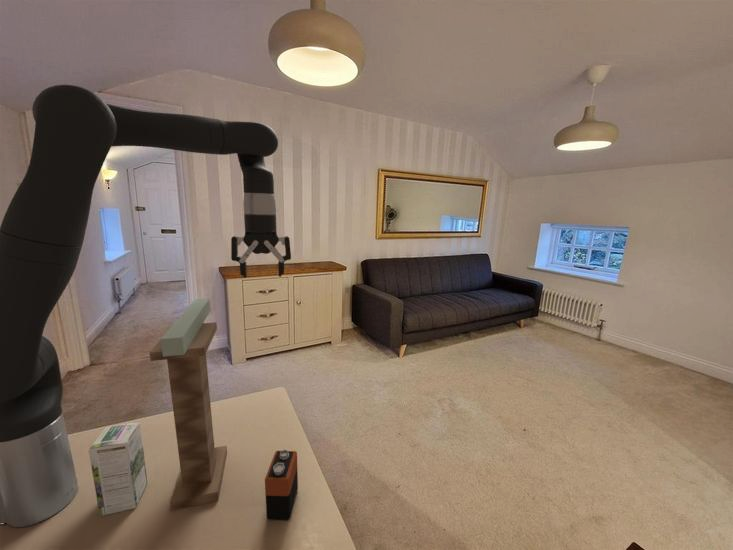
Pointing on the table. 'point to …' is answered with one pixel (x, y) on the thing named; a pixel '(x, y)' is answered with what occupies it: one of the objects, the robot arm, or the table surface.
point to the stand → (194, 423)
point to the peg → (185, 328)
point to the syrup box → (118, 468)
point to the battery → (281, 485)
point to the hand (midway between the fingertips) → (263, 276)
